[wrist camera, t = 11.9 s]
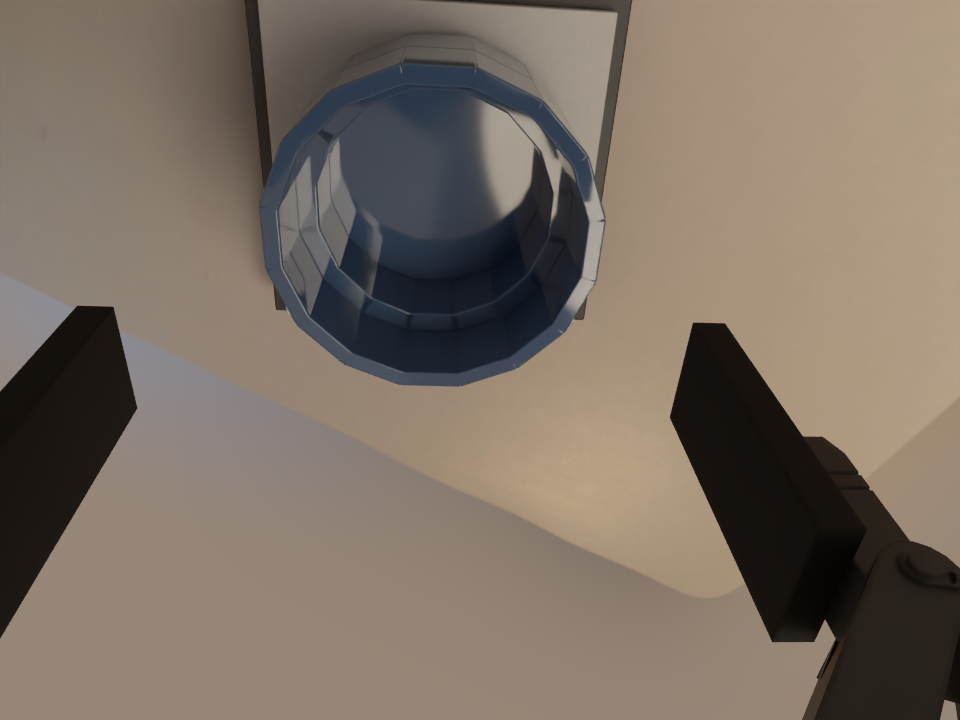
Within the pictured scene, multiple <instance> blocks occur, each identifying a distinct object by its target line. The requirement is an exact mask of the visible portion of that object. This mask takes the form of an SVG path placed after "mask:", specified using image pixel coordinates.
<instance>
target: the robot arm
mask: <svg viewBox="0 0 960 720" xmlns="http://www.w3.org/2000/svg"><path fill="white" fill-rule="evenodd" d="M136 409H137V405H136V401H135V396H134V392H133V388H132V384H131V380H130V375H129V371H128V367H127V362H126V359H125V354H124V350H123V346H122V342H121V337H120V333H119V329H118V324H117V320H116V316H115V312H114V307H101V306H77V307H76V308H75V309H74V310H73V311H72V312H71V313H70V315H69V316H68V317H67V318H66V319H65V320H64V321H63V322H62V323H61V325H60V326H59V327H58V328H57V329H56V330H55V331H54V332H53V333H52V335H51V336H50V337H49V338H48V339H47V340H46V341H45V342H44V344H43V345H42V346H41V347H40V348H39V349H38V350H37V351H36V352H35V354H34V355H33V356H32V357H31V358H30V359H29V360H28V361H27V362H26V364H25V365H24V366H23V367H22V368H21V369H20V370H19V371H18V372H17V374H16V375H15V376H14V377H13V378H12V379H11V380H10V381H9V382H8V384H7V385H6V386H5V387H4V388H3V389H2V390H1V391H0V638H1V636H2V635H3V633H4V631H5V629H6V628H7V626H8V624H9V622H10V621H11V619H12V618H13V616H14V614H15V613H16V611H17V609H18V608H19V606H20V604H21V603H22V601H23V599H24V598H25V596H26V594H27V593H28V591H29V589H30V588H31V586H32V584H33V582H34V581H35V579H36V577H37V576H38V574H39V572H40V571H41V569H42V567H43V566H44V564H45V562H46V561H47V559H48V557H49V555H50V554H51V552H52V550H53V549H54V547H55V545H56V544H57V542H58V541H59V539H60V537H61V535H62V534H63V532H64V530H65V529H66V527H67V525H68V524H69V522H70V520H71V519H72V517H73V515H74V514H75V512H76V510H77V509H78V507H79V505H80V503H81V502H82V500H83V499H84V497H85V495H86V493H87V492H88V490H89V488H90V487H91V485H92V483H93V481H94V480H95V478H96V477H97V475H98V473H99V472H100V470H101V468H102V466H103V465H104V463H105V462H106V460H107V458H108V457H109V455H110V453H111V451H112V450H113V448H114V446H115V445H116V443H117V441H118V440H119V438H120V436H121V435H122V433H123V431H124V430H125V428H126V426H127V425H128V423H129V421H130V420H131V418H132V416H133V414H134V413H135V411H136ZM670 419H671V421H672V423H673V425H674V428H675V430H676V432H677V434H678V436H679V439H680V441H681V443H682V445H683V447H684V450H685V452H686V454H687V456H688V458H689V460H690V463H691V465H692V467H693V469H694V471H695V474H696V476H697V478H698V480H699V482H700V485H701V487H702V489H703V491H704V493H705V496H706V498H707V500H708V502H709V504H710V507H711V509H712V511H713V513H714V515H715V517H716V520H717V522H718V524H719V526H720V528H721V531H722V533H723V535H724V537H725V539H726V542H727V544H728V546H729V548H730V550H731V553H732V555H733V557H734V559H735V561H736V563H737V566H738V568H739V570H740V572H741V574H742V577H743V579H744V581H745V583H746V585H747V587H748V590H749V592H750V594H751V596H752V599H753V601H754V603H755V605H756V607H757V610H758V612H759V614H760V616H761V618H762V620H763V623H764V625H765V627H766V629H767V631H768V633H769V636H770V638H771V640H772V642H814V641H815V639H816V637H817V635H818V633H819V630H820V628H821V626H822V624H823V622H824V620H826V621H827V623H828V625H829V627H830V629H831V631H832V633H833V634H834V636H835V638H836V639H835V642H834V643H833V645H832V648H831V649H830V652H829V654H828V655H827V658H826V660H825V662H824V664H823V666H822V668H821V670H820V672H819V674H818V676H817V678H818V682H817V684H816V687H815V689H814V692H813V694H812V696H811V699H810V701H809V704H808V706H807V709H806V711H805V714H804V716H803V719H802V720H940V716H941V712H942V708H943V703H944V700H948V701H951V702H955V704H956V711H957V718H958V720H960V568H959V567H958V566H957V565H955V564H954V563H953V562H952V561H951V560H950V559H949V558H947V557H946V556H945V555H943V554H941V553H940V552H938V551H936V550H934V549H932V548H931V547H928V546H925V545H922V544H919V543H916V542H913V541H910V540H909V539H908V538H907V536H906V535H905V534H904V532H903V531H902V530H901V528H900V527H899V526H898V524H897V523H896V522H895V520H894V519H893V518H892V516H891V515H890V514H889V512H888V511H887V510H886V509H885V507H884V506H883V504H882V503H881V502H880V500H879V499H878V498H877V496H876V495H875V494H874V492H873V491H870V490H869V485H868V484H867V483H866V481H865V480H864V479H863V477H862V476H861V475H858V471H857V469H856V468H855V467H854V465H853V464H852V463H851V461H850V460H849V459H848V457H847V456H846V455H845V453H843V452H842V451H841V450H839V449H838V448H837V447H835V446H834V445H833V444H831V443H830V442H829V441H827V440H826V439H825V438H823V437H803V436H802V434H801V433H800V432H799V430H798V429H797V427H796V426H795V424H794V423H793V421H792V420H791V419H790V417H789V416H788V414H787V413H786V411H785V410H784V408H783V407H782V406H781V404H780V403H779V401H778V400H777V398H776V397H775V395H774V394H773V392H772V391H771V390H770V388H769V387H768V385H767V384H766V382H765V381H764V379H763V378H762V377H761V375H760V374H759V372H758V371H757V369H756V368H755V366H754V365H753V364H752V362H751V361H750V359H749V358H748V356H747V355H746V353H745V352H744V351H743V349H742V348H741V346H740V345H739V343H738V342H737V340H736V339H735V337H734V336H733V335H732V333H731V332H730V330H729V329H728V327H727V326H726V324H724V323H693V325H692V329H691V333H690V337H689V341H688V345H687V350H686V354H685V358H684V362H683V366H682V370H681V374H680V378H679V382H678V386H677V390H676V394H675V398H674V403H673V407H672V411H671V415H670Z"/></svg>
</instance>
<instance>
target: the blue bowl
mask: <svg viewBox="0 0 960 720" xmlns="http://www.w3.org/2000/svg"><path fill="white" fill-rule="evenodd" d="M259 212H260V221H261V231H262V240H263V250H264V259H265V268H266V269H267V273H268V275H269V276H270V278H271V280H272V282H273V284H274V285H275V287H276V289H277V291H278V293H279V294H280V296H281V298H282V300H283V302H284V303H285V305H286V307H287V309H288V311H289V312H290V314H291V316H292V318H293V320H294V321H295V323H296V324H297V326H298V327H300V328H301V329H302V330H303V331H304V332H306V333H307V334H308V335H309V336H310V337H312V338H313V339H314V340H315V341H316V342H318V343H319V344H320V345H321V346H322V347H324V348H325V349H326V350H327V351H328V352H330V353H331V354H332V355H333V356H334V357H336V358H337V359H338V360H339V361H340V362H342V363H344V365H347V366H350V367H352V368H355V369H358V370H360V371H363V372H366V373H369V374H371V375H374V376H377V377H379V378H382V379H385V380H388V381H390V382H393V383H396V384H398V385H400V384H401V385H419V386H458V387H459V386H460V385H461V386H464V385H467V384H470V383H473V382H476V381H479V380H483V379H486V378H489V377H492V376H495V375H499V374H502V373H505V372H508V371H511V370H515V369H516V368H519V367H520V366H521V365H523V364H524V363H525V362H527V361H528V360H529V359H531V358H532V357H533V356H535V355H536V354H537V353H539V352H540V351H541V350H542V349H544V348H545V347H546V346H548V345H549V344H550V343H552V342H553V341H554V340H556V339H557V338H558V337H560V336H561V335H562V334H563V333H564V332H566V330H567V328H568V327H569V325H570V324H571V322H572V320H573V319H574V317H575V315H576V314H577V312H578V311H579V309H580V307H581V306H582V304H583V303H584V301H585V299H586V298H587V296H588V294H589V293H590V291H591V290H592V288H593V286H594V285H595V283H596V279H597V274H598V268H599V261H600V255H601V248H602V242H603V236H604V229H605V223H606V221H605V214H604V210H603V206H602V202H601V199H600V195H599V191H598V187H597V184H596V180H595V176H594V172H593V169H592V165H591V161H590V158H589V156H588V154H587V152H586V150H585V149H584V147H583V145H582V144H581V142H580V140H579V139H578V137H577V135H576V134H575V132H574V130H573V128H572V127H571V125H570V123H569V122H568V120H567V118H566V117H565V115H564V113H563V112H562V110H561V108H560V107H559V106H558V105H557V103H556V102H555V101H554V100H553V98H552V97H551V96H550V95H549V93H548V92H547V91H546V90H545V88H544V87H543V86H542V85H541V84H540V82H539V81H538V80H537V79H536V77H535V76H534V75H533V74H532V72H531V71H530V70H529V69H528V67H527V66H526V65H525V64H523V63H522V62H520V61H518V60H516V59H514V58H512V57H510V56H508V55H506V54H504V53H502V52H501V51H499V50H497V49H495V48H493V47H491V46H489V45H487V44H485V43H483V42H481V41H479V40H477V39H475V38H474V37H470V36H462V35H445V34H428V33H407V34H405V35H402V36H399V37H397V38H394V39H392V40H389V41H387V42H384V43H381V44H379V45H376V46H374V47H371V48H369V49H366V50H363V51H361V52H358V53H356V54H354V55H352V56H351V57H350V58H349V59H348V60H347V61H346V63H345V64H344V65H343V66H342V67H341V68H340V69H339V70H338V71H337V72H336V73H335V74H334V75H333V76H332V77H331V78H330V79H329V80H328V81H327V82H326V83H325V84H324V85H323V86H322V88H321V89H320V90H319V91H318V92H317V93H316V94H315V95H314V96H313V97H312V99H311V100H310V101H309V103H308V104H307V106H306V107H305V108H304V110H303V111H302V112H301V114H300V115H299V117H298V118H297V119H296V121H295V122H294V124H293V125H292V126H291V128H290V129H289V131H288V132H287V133H286V135H285V136H284V137H283V139H282V141H281V142H280V144H279V147H278V150H277V153H276V156H275V159H274V162H273V165H272V168H271V170H270V173H269V176H268V179H267V182H266V185H265V188H264V191H263V194H262V197H261V200H260V206H259Z"/></svg>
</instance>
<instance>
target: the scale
mask: <svg viewBox="0 0 960 720" xmlns="http://www.w3.org/2000/svg"><path fill="white" fill-rule="evenodd" d="M631 4H632V0H245V6H246V16H247V26H248V36H249V46H250V56H251V66H252V76H253V86H254V96H255V106H256V116H257V126H258V136H259V146H260V156H261V166H262V176H263V186H264V188H265V185H266V182H267V179H268V176H269V173H270V170H271V168H272V165H273V162H274V159H275V156H276V153H277V150H278V147H279V144H280V142H281V141H282V139H283V137H284V136H285V135H286V133H287V132H288V131H289V129H290V128H291V126H292V125H293V124H294V122H295V121H296V119H297V118H298V117H299V115H300V114H301V112H302V111H303V110H304V108H305V107H306V106H307V104H308V103H309V101H310V100H311V99H312V97H313V96H314V95H315V94H316V93H317V92H318V91H319V90H320V89H321V88H322V86H323V85H324V84H325V83H326V82H327V81H328V80H329V79H330V78H331V77H332V76H333V75H334V74H335V73H336V72H337V71H338V70H339V69H340V68H341V67H342V66H343V65H344V64H345V63H346V61H347V60H348V59H349V58H350V57H351V56H352V55H354V54H356V53H358V52H361V51H363V50H366V49H369V48H371V47H374V46H376V45H379V44H381V43H384V42H387V41H389V40H392V39H394V38H397V37H399V36H402V35H405V34H407V33H428V34H445V35H462V36H470V37H474V38H475V39H477V40H479V41H481V42H483V43H485V44H487V45H489V46H491V47H493V48H495V49H497V50H499V51H501V52H502V53H504V54H506V55H508V56H510V57H512V58H514V59H516V60H518V61H520V62H522V63H523V64H525V65H526V66H527V67H528V69H529V70H530V71H531V72H532V74H533V75H534V76H535V77H536V79H537V80H538V81H539V82H540V84H541V85H542V86H543V87H544V88H545V90H546V91H547V92H548V93H549V95H550V96H551V97H552V98H553V100H554V101H555V102H556V103H557V105H558V106H559V107H560V108H561V110H562V112H563V113H564V115H565V117H566V118H567V120H568V122H569V123H570V125H571V127H572V128H573V130H574V132H575V134H576V135H577V137H578V139H579V140H580V142H581V144H582V145H583V147H584V149H585V150H586V152H587V154H588V156H589V158H590V161H591V165H592V169H593V172H594V176H595V180H596V184H597V187H598V191H599V195H600V199H601V202H602V196H603V189H604V182H605V176H606V169H607V163H608V156H609V149H610V143H611V136H612V129H613V123H614V116H615V110H616V103H617V96H618V90H619V83H620V77H621V70H622V63H623V57H624V50H625V44H626V37H627V30H628V24H629V17H630V11H631ZM273 285H274V284H273ZM274 295H275V305H276V310H286V313H287V315H291V314H290V312H289V311H288V309H287V307H286V305H285V303H284V302H283V300H282V298H281V296H280V294H279V293H278V291H277V289H276V287H275V285H274ZM586 301H587V298H586V299H585V301H584V303H583V304H582V306H581V307H580V309H579V311H578V312H577V314H576V315H575V317H574V319H575V320H583V319H584V315H585V308H586ZM574 319H573V320H572V322H571V324H573V322H574Z"/></svg>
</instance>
